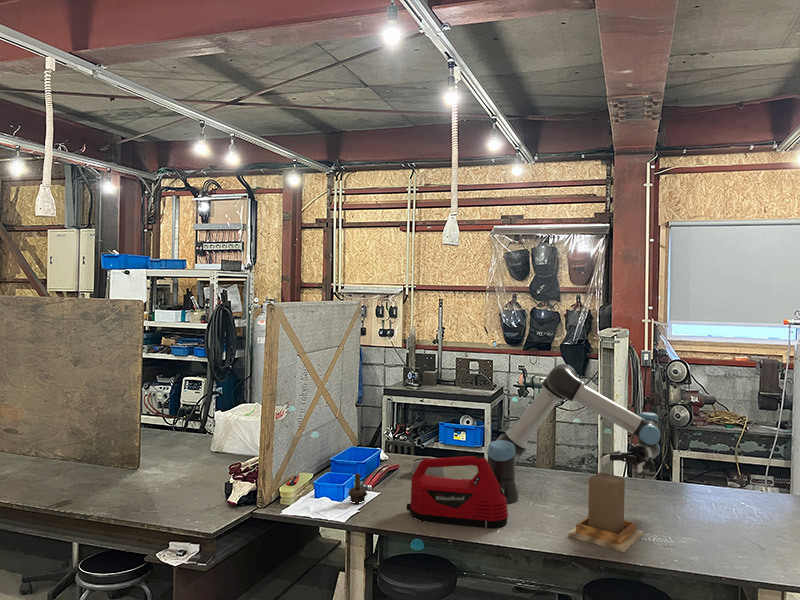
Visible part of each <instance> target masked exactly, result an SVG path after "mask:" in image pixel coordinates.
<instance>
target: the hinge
mask: <svg viewBox="0 0 800 600" xmlns="http://www.w3.org/2000/svg"><path fill="white" fill-rule="evenodd" d="M431 458H435V457H434V456H420V457H415V458H413V459H412V467H411V475H413V474H414V473H415V471H416V469H417V467H418V465H419V464H420V462H421V461H422V460H424V459H431ZM446 473H447V471H446V467H432V468H427V470H426V472H425V474H427V475H429V476H441V477H447V475H446Z"/></svg>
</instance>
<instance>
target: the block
mask: <svg viewBox="0 0 800 600" xmlns="http://www.w3.org/2000/svg"><path fill="white" fill-rule="evenodd" d="M625 483H626V481H625V477H623V476H620V475H619V476H618V475H614V474H610V473H606V472H598V473H596V474H594V475H591V476H590V477H589V478H588V505H587V506H588V512H587V516H588V526H589V527H593V528H597V529H600V530H604V531H608V532H611V533H615V534H620V533H621V532H622V531H623V530H624V520H625V494H626V493H625V492H626V491H625V486H626V484H625Z"/></svg>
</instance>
